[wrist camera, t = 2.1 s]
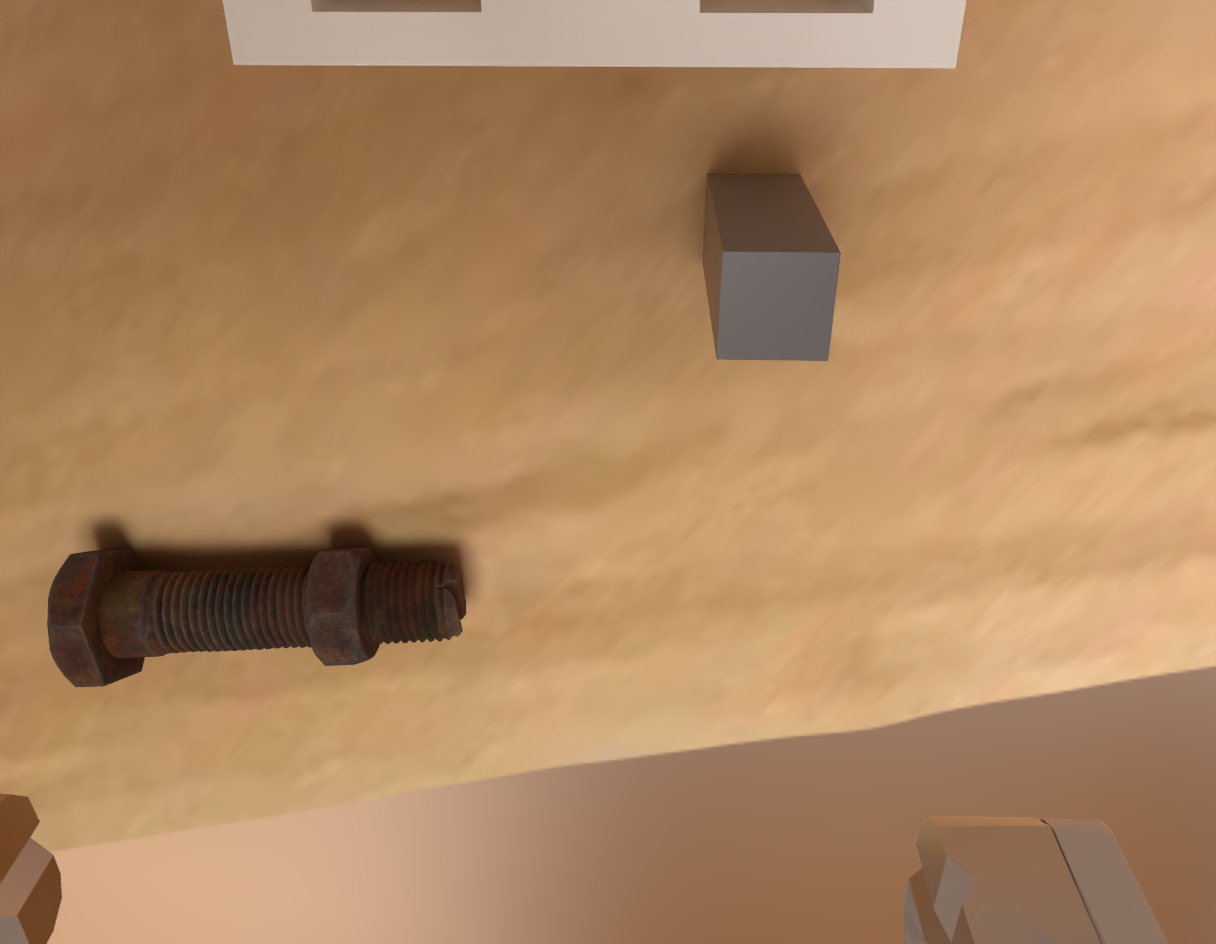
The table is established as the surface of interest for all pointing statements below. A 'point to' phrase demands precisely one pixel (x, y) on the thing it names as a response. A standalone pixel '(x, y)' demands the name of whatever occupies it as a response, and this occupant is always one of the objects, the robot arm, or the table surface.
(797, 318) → the plug
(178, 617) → the bolt
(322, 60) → the white socket block
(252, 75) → the table surface
